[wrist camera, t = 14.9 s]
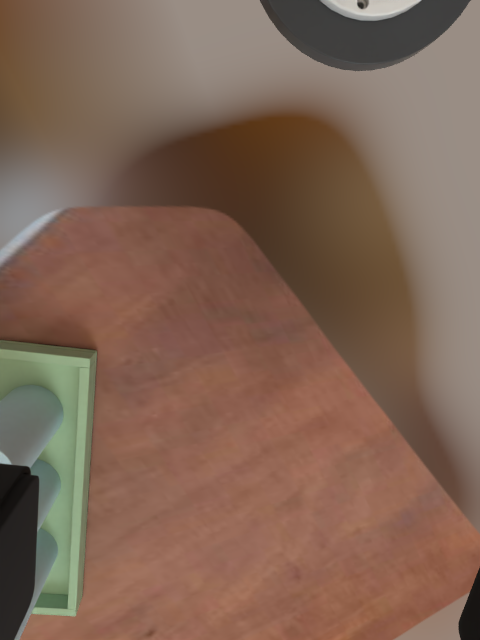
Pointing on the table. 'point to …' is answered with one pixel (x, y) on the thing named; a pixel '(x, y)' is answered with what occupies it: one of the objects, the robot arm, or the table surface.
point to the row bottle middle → (45, 488)
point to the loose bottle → (27, 423)
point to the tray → (60, 457)
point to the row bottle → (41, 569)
